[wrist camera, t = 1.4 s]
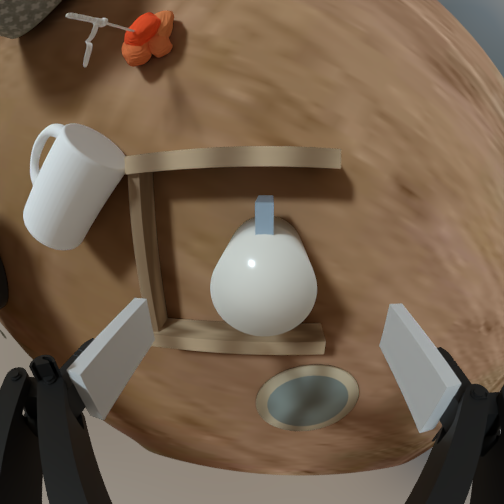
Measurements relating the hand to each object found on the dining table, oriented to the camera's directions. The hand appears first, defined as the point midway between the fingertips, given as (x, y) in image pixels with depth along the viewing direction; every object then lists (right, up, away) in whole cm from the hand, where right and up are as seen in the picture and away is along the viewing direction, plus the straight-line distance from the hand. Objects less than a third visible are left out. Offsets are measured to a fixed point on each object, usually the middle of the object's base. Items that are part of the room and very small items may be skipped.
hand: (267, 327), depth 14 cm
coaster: (+7, -16, +18) cm, 25 cm away
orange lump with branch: (-12, +25, +7) cm, 29 cm away
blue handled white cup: (+1, +5, +12) cm, 13 cm away
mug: (-19, +13, +11) cm, 26 cm away
